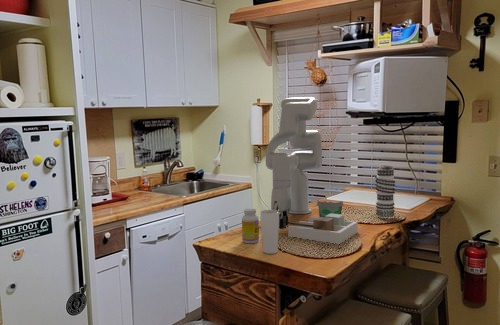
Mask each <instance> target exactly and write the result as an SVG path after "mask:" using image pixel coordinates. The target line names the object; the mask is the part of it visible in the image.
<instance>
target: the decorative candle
mask: <svg viewBox="0 0 500 325" xmlns="http://www.w3.org/2000/svg"><path fill="white" fill-rule="evenodd" d="M394 170H395V168H393V166H392V165H388V164H387V165H386V164H385V165H383V164H382V165H378V167H377V168H376V171H377V172H376V177H374V179H375V180H374V181H375V183H376V184H375V190H376V191H375V193H376V202H375V205H376V206H375V208H376V209H375V216H379V217H387V218H388V217H393V216H394V217H395V199H394V195H395V193H396V192H395V190H396V189H395V188H394V187H395V186H396V181H395V180H394V179H395V175H394V174H395V173H394V172H395V171H394Z"/></svg>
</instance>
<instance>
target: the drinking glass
mask: <svg viewBox="0 0 500 325" xmlns="http://www.w3.org/2000/svg"><path fill="white" fill-rule="evenodd" d="M259 217H260V230H261V240H262V251H263V253H264V254H266V255H273V254H277V253H278V251H279V232H280V229H279V210H278V211H277V210H271V209H264V210H261V211H260V216H259Z"/></svg>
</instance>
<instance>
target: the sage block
mask: <svg viewBox="0 0 500 325" xmlns="http://www.w3.org/2000/svg"><path fill="white" fill-rule="evenodd" d="M325 217H326V218H333V225H338V226H344V220H345V214H342V213H341V214H332V213H330V214H328V215H326V216H325Z"/></svg>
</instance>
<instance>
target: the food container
mask: <svg viewBox="0 0 500 325" xmlns="http://www.w3.org/2000/svg"><path fill="white" fill-rule="evenodd" d="M316 206H317V207H318V213H319V214H318V215H319V216H318V217H325V216H326V215H328V214H330V213H332V214H341V215H342V210H343V206H344V201H343V200H340V201H338V202H336V201H319V200H317V202H316Z"/></svg>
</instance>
